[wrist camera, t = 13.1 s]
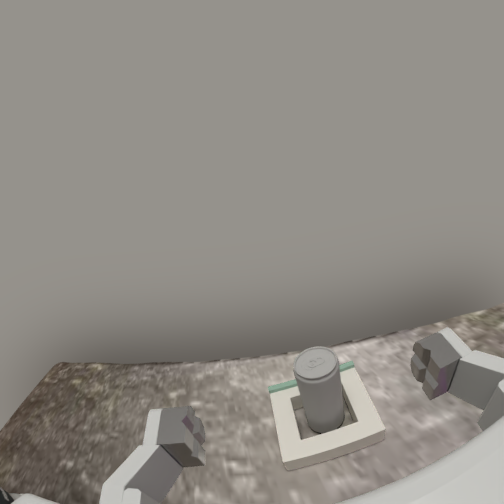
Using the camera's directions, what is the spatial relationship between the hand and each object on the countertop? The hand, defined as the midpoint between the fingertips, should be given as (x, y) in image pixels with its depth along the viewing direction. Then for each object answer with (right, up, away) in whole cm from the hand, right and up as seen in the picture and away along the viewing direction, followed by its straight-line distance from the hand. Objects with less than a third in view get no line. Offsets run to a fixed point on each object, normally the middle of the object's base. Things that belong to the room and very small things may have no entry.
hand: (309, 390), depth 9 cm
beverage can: (+8, -17, +23) cm, 30 cm away
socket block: (+7, -17, +23) cm, 30 cm away
